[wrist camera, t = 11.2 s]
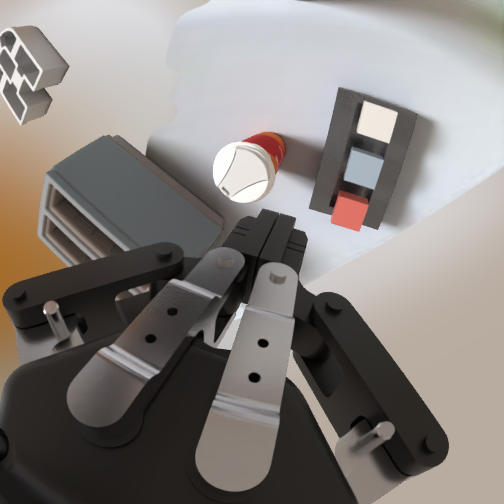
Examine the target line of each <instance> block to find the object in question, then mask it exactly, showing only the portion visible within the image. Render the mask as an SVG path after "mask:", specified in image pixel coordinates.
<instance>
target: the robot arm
mask: <svg viewBox="0 0 504 504" xmlns="http://www.w3.org/2000/svg"><path fill="white" fill-rule="evenodd" d="M295 221H296V218H295V217H292V216H288V215H285V214H281V213H280V215H279V213H277V212H274V211H270V210H266V209H262V211H261V212H260V214H259V216H258V217H257V218H254V217H251V216H247V217H245V218H243V219H241V220H240V221H239V222H238V224H237V225H236V227H235V228H234V230H233V231H232V232H231V234H230V235H229V237H228V238H227V240H226V241H225V242H224V244H223V245H222V247H219V248H215V249H212V250H210V251H209V252H208V253H207V254H206V255H205V256H204V257H203V258H193V257H184V252H183V249H182V248H181V247H180V246H178V245H177V244H174V243H170V242H160V243H156V244H152V245H148V246H144V247H140V248H137V249H133V250H129V251H125V252H121V253H118V254H114V255H110V256H107V257H103V258H99V259H96V260H92V261H89V262H85V263H81V264H78V265H74V266H71V267H68V268H64V269H60V270H57V271H54V272H50V273H47V274H43V275H40V276H37V277H33V278H30V279H27V280H23V281H20V282H17V283H15V284H13V285H12V286H10V287H9V288H8V289H7V290H6V292H5V293H4V296H3V305H4V307H5V309H6V311H7V313H8V315H9V317H10V319H11V322H12V324H13V326H14V328H15V330H16V341H17V350H18V359H19V366H20V367H18V368H17V369H16V370H15V371H14V372H13V373H12V374H11V375H10V376H9V378H8V379H7V381H6V383H5V385H4V388H3V391H2V395H1V401H0V504H371V503H373V502H374V501H376V500H378V499H379V498H381V497H382V496H384V495H385V494H386V493H388V492H389V491H391V490H392V489H394V488H395V487H396V486H398V485H399V484H401V483H402V482H404V481H406V480H408V479H410V478H413V477H415V476H417V475H419V474H421V473H423V472H425V471H427V470H430V469H432V468H433V467H435V466H437V465H439V464H441V463H442V462H443V461H444V460H445V458H446V456H447V454H448V450H449V442H448V438H447V435H446V434H445V432H444V430H443V429H442V428H441V426H440V425H439V423H438V422H437V420H436V419H435V417H434V416H433V414H432V413H431V411H430V410H429V409H428V407H427V406H426V404H425V403H424V401H423V400H422V398H421V397H420V396H419V394H418V393H417V392H416V390H415V389H414V387H413V386H412V384H411V383H410V382H409V381H408V379H407V378H406V376H405V375H404V373H403V372H402V371H401V370H400V368H399V367H398V365H397V364H396V362H395V361H394V360H393V358H392V357H391V356H390V354H389V353H388V352H387V350H386V349H385V348H384V346H383V345H382V344H381V342H380V341H379V340H378V338H377V337H376V336H375V334H374V333H373V332H372V331H371V329H370V328H369V327H368V325H367V324H366V323H365V321H364V320H363V319H362V317H361V316H360V315H359V314H358V312H357V311H356V310H355V308H354V307H353V306H352V305H351V303H350V302H349V301H348V300H347V299H346V298H344V297H343V296H341V295H339V294H336V293H333V292H323V293H320V294H319V295H317V296H315V295H314V294H312V293H310V292H308V291H307V290H306V289H305V288H304V287H303V286H302V285H301V283H300V281H299V272H300V268H301V264H302V260H303V257H304V253H305V249H306V245H307V241H308V238H307V236H306V234H305V232H303V231H300V230H297V229H294V225H295ZM146 284H148V285H149V291H147V292H144V293H141V294H137V295H134V296H131V297H128V298H124V299H121V300H117V301H115V298H116V296H117V295H118V294H119V293H121V292H123V291H126V290H129V289H133V288H136V287H139V286H143V285H146ZM241 302H242V303H245V304H248V306H247V305H246V307H245V310H244V313H243V316H242V319H241V322H240V325H239V328H238V331H237V334H236V338H235V340H234V343H233V346H232V349H231V350H226V349H217V346H218V345H219V343H220V342H221V340H222V338H223V337H224V335H225V333H226V331H227V330H228V328H229V326H230V325H231V323H232V321H233V320H234V318H235V316H236V311H237V309H238V308H239V306H240V303H241ZM248 302H249V303H248ZM290 349H292V350H293V357H294V359H295V361H296V363H297V364H298V367H299V368H300V370H301V372H302V374H303V375H304V377H305V379H306V380H307V382H308V384H309V386H310V387H311V389H312V391H313V393H314V394H315V396H316V398H317V400H318V401H319V403H320V405H321V407H322V408H323V410H324V412H325V414H326V415H327V417H328V419H329V421H330V422H331V424H332V426H333V427H334V429H335V431H336V432H337V434H338V436H339V438H340V439H339V440H338V442H337V444H336V447H335V456H336V458H335V456H334V454H333V452H332V450H331V448H330V446H329V444H328V443H327V441H326V439H325V437H324V435H323V433H322V431H321V429H320V427H319V425H318V423H317V421H316V419H315V417H314V415H313V413H312V411H311V409H310V408H309V405H308V403H307V401H306V400H305V398H304V396H303V394H302V393H301V391H300V390H299V389H298V388H297V386H296V385H295V384H294V383H293V382H292V381H291V380H289V379H288V378H287V377H286V372H287V367H288V361H289V355H290ZM336 459H337V460H336Z"/></svg>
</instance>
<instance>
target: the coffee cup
mask: <svg viewBox="0 0 504 504" xmlns="http://www.w3.org/2000/svg"><path fill="white" fill-rule="evenodd" d="M284 156H285V144H284V142H283V140H282V139H281V138H280V137H279V136H278V135H277V134H275V133H272V132H263V133H259V134H257V135H254V136H252V137H250V138H248V139H245V140H243V141H241V142H235V143H231V144H229V145H227V146H225V147H224V148H223V149H222V150H220V152H219V153H218V154H217V156H216V158H215V161H214V166H213V178H214V181H215V184H216V186H218V187H219V189H220V191H221V192H222V193H223V194H224V195H226V196H228V197H229V198H230V200H233V201H235V202H240V203H249V202H255V201H258V200H260V199H262V198H264V197H265V196H266V195H267V194H268V193H269V192H270V190H271V189H272V187H273V185H274V181H275V175H276V173H277V171H278V169H279V167H280V165H281V163H282V161H283V158H284Z"/></svg>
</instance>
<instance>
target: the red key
mask: <svg viewBox="0 0 504 504" xmlns="http://www.w3.org/2000/svg"><path fill="white" fill-rule="evenodd" d="M368 206H369V203H368V199H367V198H364V197H361V196H358V195H355V194H351V193H348V192H345V191H342V190H339V194H338V197H337V200H336V203H335V207H334V210H333V213H332V217H331V223H333V224H336V225H339V226H342V227H346V228H349V229H352V230H355V231H358V232H359V231H360V228H361V225H362V223H363V220H364V217H365V215H366V212H367V209H368Z"/></svg>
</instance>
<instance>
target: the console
mask: <svg viewBox="0 0 504 504" xmlns="http://www.w3.org/2000/svg"><path fill="white" fill-rule="evenodd" d="M364 101H368V102H371V103H374V104H377V105H380V106H383V107H386V108H388V109H391V110H394V111H396V112H398V114H397V118H396V122H395V125H394V129H393V132H392V136H391V139H390V142H389V143H386V142H383V141H380V140H377V139H374V138H371V137H368V136H365V135H362V134H359V133H357V126H358V122H359V118H360V115H361V111H362V107H363V102H364ZM416 118H417V113H415V112H412V111H410V110H408V109H405V108H402V107H400V106H397V105H394V104H391V103H389V102H386V101H383V100H380V99H377V98H374V97H371V96H368V95H364V94H361V93H358V92H355V91H351V90H348V89H344V88H341V87H339V88H338V93H337V97H336V102H335V106H334V110H333V115H332V119H331V123H330V127H329V132H328V136H327V140H326V144H325V148H324V152H323V156H322V160H321V164H320V168H319V172H318V175H317V179H316V183H315V187H314V191H313V194H312V198H311V202H310V206H309V209H312V210H315V211H319V212H322V213H325V214H329V215H332V213H333V210H334V207H335V203H336V200H337V197H338V194H339V190H342V191H345V192H348V193H351V194H355V195H358V196H361V197H364V198H367V199H368V203H369V206H368V209H367V212H366V215H365V217H364V220H363V223H362V225H364V226H367V227H371V228H374V229H377V230H378V228H379V226H380V223H381V221H382V218H383V216H384V213H385V211H386V208H387V205H388V203H389V200H390V197H391V195H392V192H393V189H394V187H395V184H396V181H397V178H398V175H399V172H400V169H401V166H402V163H403V160H404V157H405V154H406V151H407V148H408V145H409V142H410V138H411V135H412V132H413V128H414V125H415V121H416ZM352 146H353V147H356V148H359V149H362V150H365V151H368V152H371V153H374V154H377V155H380V156H382V157H383V160H384V162H383V165H382V168H381V171H380V174H379V177H378V180H377V183H376V186H375V189H374V190H373V189H370V188H367V187H364V186H361V185H358V184H355V183H352V182H349V181H345V180H344V173H345V170H346V166H347V163H348V159H349V156H350V152H351V149H352Z"/></svg>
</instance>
